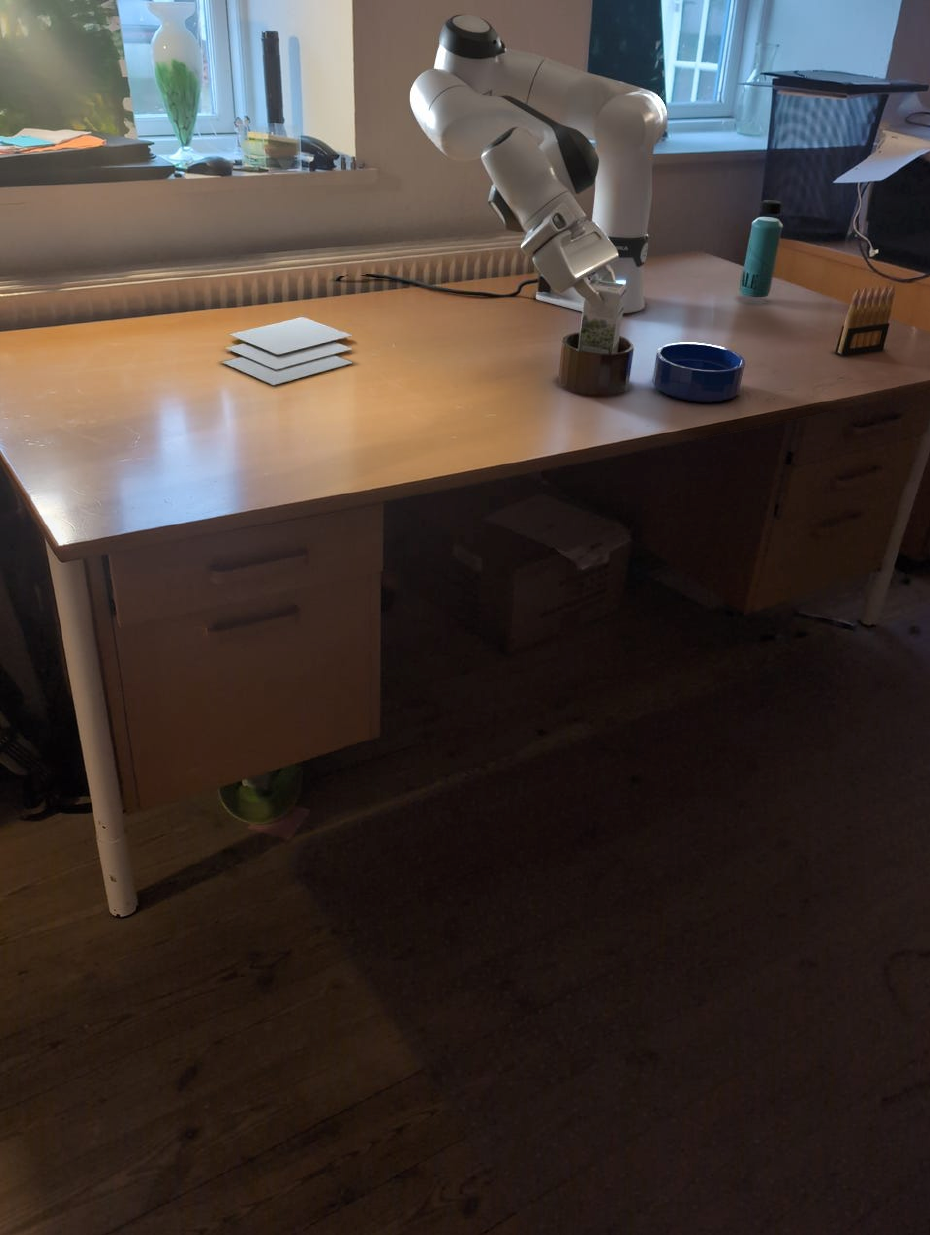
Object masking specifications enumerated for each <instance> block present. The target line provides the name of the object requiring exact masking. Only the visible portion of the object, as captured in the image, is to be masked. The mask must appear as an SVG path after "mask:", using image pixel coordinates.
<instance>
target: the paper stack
mask: <svg viewBox="0 0 930 1235" xmlns="http://www.w3.org/2000/svg"><path fill="white" fill-rule="evenodd" d="M228 335H229V336H231V337H233V338H236V339H238V340H240V341H243V342H244V343H240V344H236V345H232V346H227V347H225V350H229V351H231V352H233V353H236V354H237V355H241V356H239V357H236V358H232V359H229V360H224V361H221V363H222V364H224V365H227V366H228V367H230V368H234V369H235V370H238V371H240V372H242V373H245V374H247V375H249V376H251V377H254V378H256V379H258V380H261V381H263V382H265V383H268V384H270V385H272V386H276V385H279V384H283V383H287V382H291V381H293V380H297V379H301V378H304V377H308V376H311V375H315V374H319V373H322V372H326V371H329V370H332V369H336V368H340V367H343V366H346V365H347V366H348V365H351V364H353V362H352V361H349V360H347V359H345V358H343V357H340V356H337V355H336V354H339V353H343V352H347V351H350V350H353V348H352V347H349V346H346V345H344V344H341V343H339V342H336V341H337V340H341V339H345V338H348V337H352V336H353V334H350V333H347V332H345V331H342V330H339V329H336V328H334V327H331V326H328V325H326V324H323V323H320V322H317V321H315V320H313V319H309V318H306V317H305V316H301V317H297V318H292V319H288V320H283V321H279V322H276V323H271V324H268V325H262V326H257V327H253V328H250V329H246V330H241V331H237V332H233V333H229V334H228Z"/></svg>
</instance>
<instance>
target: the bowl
mask: <svg viewBox="0 0 930 1235" xmlns="http://www.w3.org/2000/svg"><path fill="white" fill-rule="evenodd" d="M745 365H746V360H745V358H744V357H743V356H742V355H741V354H739V353H737V352H736V351H734V350H731V349H728V348H726V347H723V346H718V345H712V344H707V343H701V342H700V343H699V342H675V343H668V344H665V345H662V346H660V347H659V348H658V349H657V350H656V354H655V362H654V368H653V375H652V380H651V382H652V384H653V386H654V387H655V388H656V389H657V390H659V391H660V392H662V393H664V394H665V395H666V396H669V397H672V398H674V399H678V400H682V401H687V402H693V403H694V402H696V403H718V402H722V401H726V400H730V399H732V398H735V397H736V396H737V395H738V394H739V393H740V390H741V385H742V380H743V376H744V370H745Z"/></svg>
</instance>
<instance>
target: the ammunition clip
mask: <svg viewBox="0 0 930 1235" xmlns="http://www.w3.org/2000/svg"><path fill="white" fill-rule="evenodd" d="M895 285H896V284H892V286H890V289H889V287H888V286H889V285H885V286H884V288H883V289H882V288H881V286H880V285H879V286H878V287H877V288H876V290H875V289H874V286H872V287H871V288H870V289H869V291H868V290H867V287H864V288H863V290H862V292H861V290H860V288H857V289H856V291H855V292H854V294H853V297H852V299H851V304H850V306H849V309H848V311H847V314H846V318H845V321H844V325H841V330H840V333H839V336H838V340H837V343H836V347H835V351H834V354H836V355H839V356H841V357H846V356H847V357H848V356H852V355H853V356H855V355H859V354H867V353H874V352H880V351H881V352H882V351H883V350H884V348H885V344H886V341H887V336H888V333H889V328H890V322H889V321H890V317H891V314H892V310H893V303H894V298H895V294H896V293H895V292H896V286H895Z"/></svg>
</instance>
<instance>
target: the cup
mask: <svg viewBox="0 0 930 1235" xmlns="http://www.w3.org/2000/svg"><path fill="white" fill-rule="evenodd" d="M579 339H580V331H577V332H576V331H575V332H572V333H569V334H567V335H564V337H563V338H562V340H561V348H560V358H559V368H558V376H557V382H558V384H559V386H560V387H561V388H562V389H564V390H566V391H567V392H570V393H573V394H576V395H579V396H580V395H581V396H585V397H593V398H594V397H596V398H607V397H609V398H610V397H616V396H619V395H623V394H624V393H626V392H627V391H628V390H629V386H630V380H631V379H630V378H631V371H632V364H633V357H634V351H635V344H634V343H633V342H632V340H630V339H629V338H627V337H625V336H621V335H620V336H619V343H618V351H617V353H593V352H587V351H582V350H579V349H578V348H579Z"/></svg>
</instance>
